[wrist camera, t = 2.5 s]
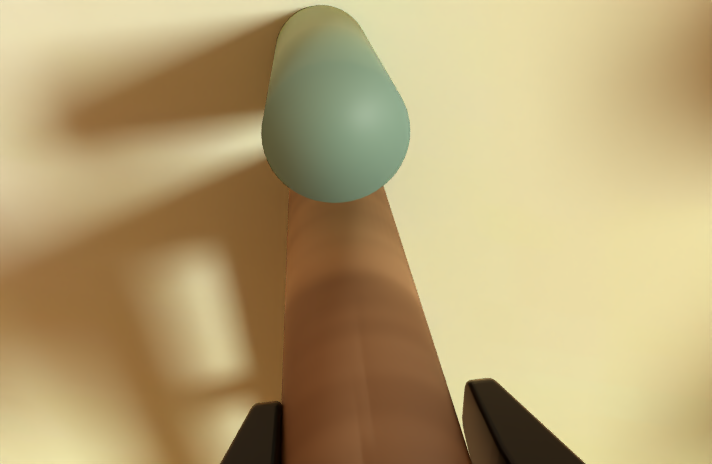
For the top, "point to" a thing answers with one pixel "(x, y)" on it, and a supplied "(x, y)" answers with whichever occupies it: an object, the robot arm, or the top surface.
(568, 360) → the top surface
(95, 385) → the top surface
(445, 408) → the gate
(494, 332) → the top surface
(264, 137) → the post
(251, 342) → the top surface
